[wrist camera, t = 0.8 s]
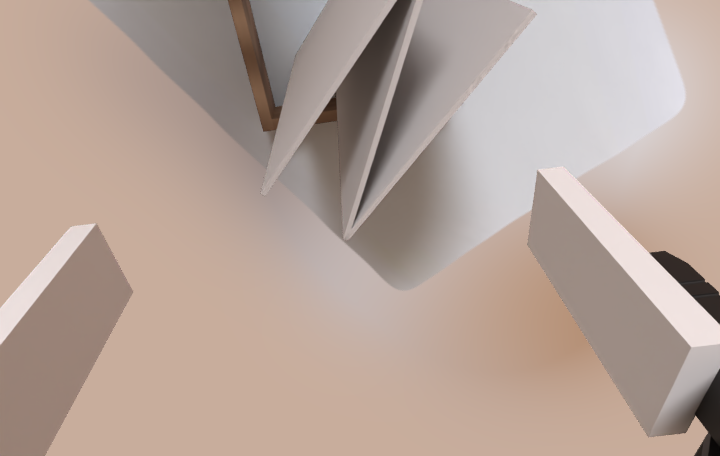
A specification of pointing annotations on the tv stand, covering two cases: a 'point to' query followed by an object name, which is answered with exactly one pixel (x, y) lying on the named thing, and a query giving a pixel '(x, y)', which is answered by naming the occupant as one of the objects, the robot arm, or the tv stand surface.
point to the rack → (263, 69)
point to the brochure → (388, 84)
